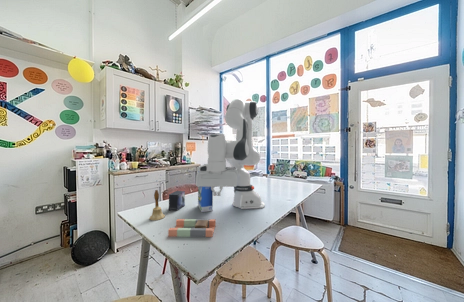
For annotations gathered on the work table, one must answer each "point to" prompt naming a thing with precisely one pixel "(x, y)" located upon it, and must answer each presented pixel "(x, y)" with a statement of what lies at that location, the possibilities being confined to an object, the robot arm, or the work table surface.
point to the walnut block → (202, 224)
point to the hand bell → (156, 209)
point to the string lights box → (205, 199)
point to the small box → (176, 200)
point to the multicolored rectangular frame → (192, 232)
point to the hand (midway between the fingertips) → (216, 195)
